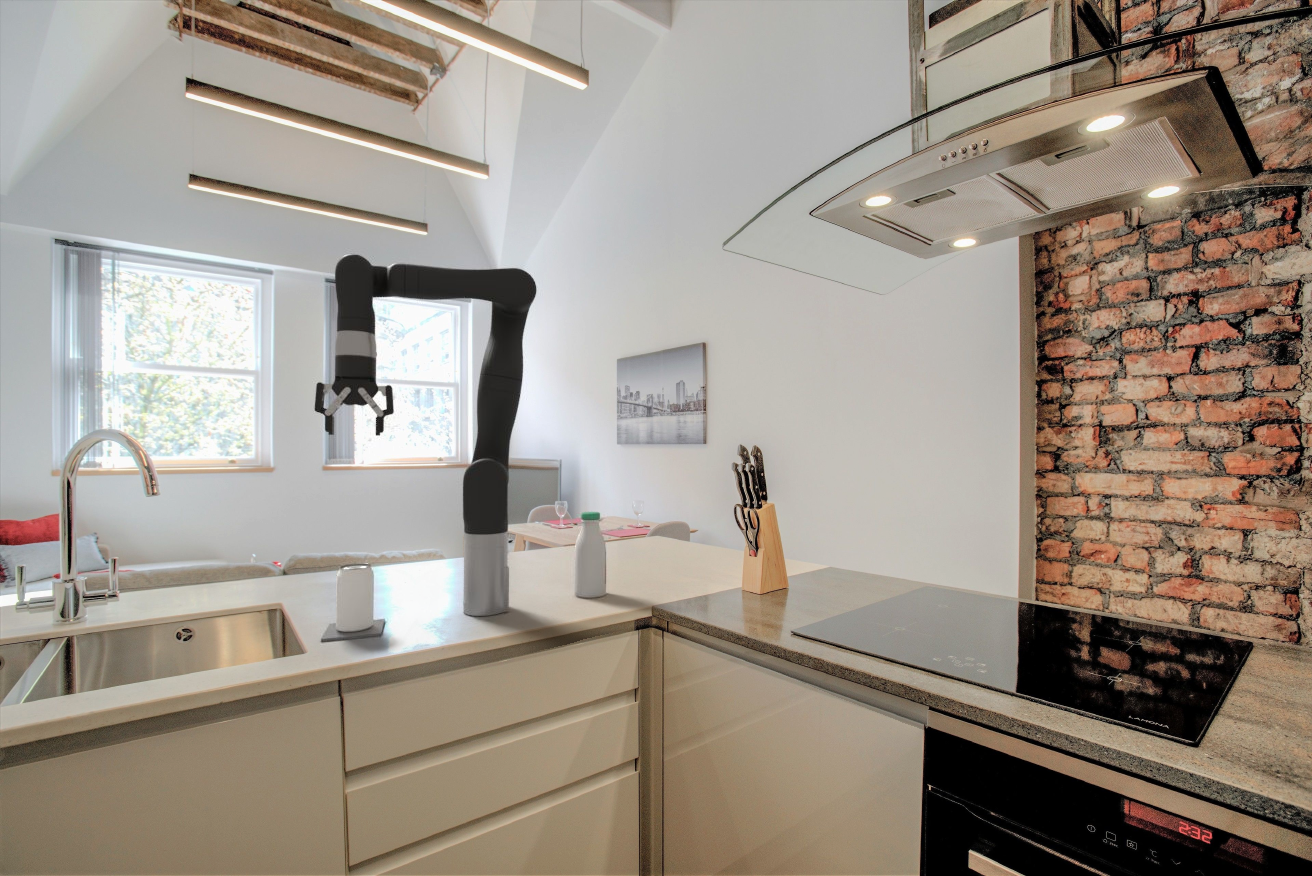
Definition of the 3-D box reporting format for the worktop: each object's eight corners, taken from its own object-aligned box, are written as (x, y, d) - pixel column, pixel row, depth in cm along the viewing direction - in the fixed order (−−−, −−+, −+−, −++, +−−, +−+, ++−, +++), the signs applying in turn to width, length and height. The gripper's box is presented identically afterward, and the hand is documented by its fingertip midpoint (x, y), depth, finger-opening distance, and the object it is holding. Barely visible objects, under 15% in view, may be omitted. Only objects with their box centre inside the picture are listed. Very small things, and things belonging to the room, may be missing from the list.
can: (357, 634, 111) (357, 570, 111) (327, 631, 112) (328, 568, 113) (380, 624, 117) (381, 563, 117) (352, 622, 119) (353, 562, 119)
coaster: (384, 621, 121) (384, 618, 121) (380, 635, 112) (380, 633, 112) (329, 626, 118) (329, 623, 118) (320, 641, 108) (320, 639, 108)
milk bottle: (604, 598, 140) (604, 514, 140) (571, 598, 140) (572, 514, 140) (607, 591, 147) (607, 510, 148) (576, 590, 148) (577, 510, 148)
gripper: (312, 351, 115) (311, 434, 115) (392, 355, 120) (392, 435, 120) (319, 356, 122) (318, 435, 122) (395, 360, 127) (394, 435, 127)
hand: (355, 435), depth 121 cm, fingers open, 8 cm apart
